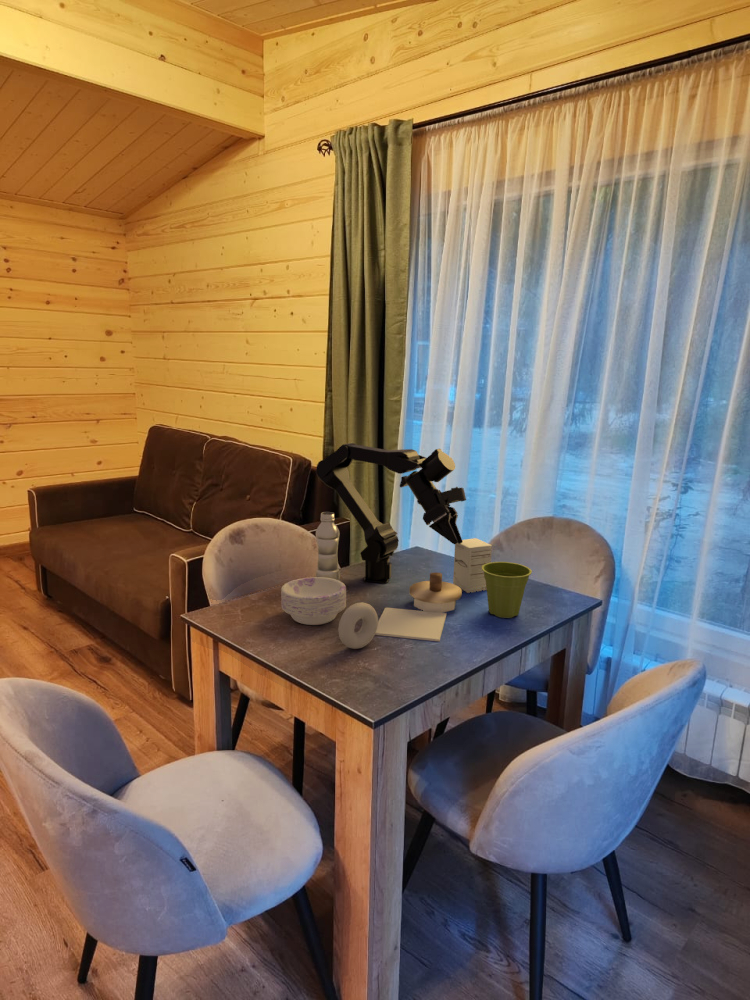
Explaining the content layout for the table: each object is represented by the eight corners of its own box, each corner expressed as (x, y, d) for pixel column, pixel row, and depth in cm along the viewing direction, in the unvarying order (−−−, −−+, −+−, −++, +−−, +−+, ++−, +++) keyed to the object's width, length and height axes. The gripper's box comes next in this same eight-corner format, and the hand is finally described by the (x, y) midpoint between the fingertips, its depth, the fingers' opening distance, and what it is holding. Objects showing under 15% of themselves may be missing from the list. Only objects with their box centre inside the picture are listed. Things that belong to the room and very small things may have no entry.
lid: (405, 600, 154) (405, 580, 153) (413, 582, 166) (414, 564, 165) (459, 605, 151) (460, 585, 150) (463, 586, 164) (464, 568, 163)
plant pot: (538, 619, 151) (541, 574, 149) (492, 624, 148) (495, 578, 146) (513, 601, 162) (516, 559, 160) (471, 606, 159) (473, 563, 157)
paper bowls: (307, 601, 161) (307, 571, 159) (358, 613, 153) (358, 582, 152) (268, 621, 148) (267, 589, 146) (321, 636, 141) (321, 602, 139)
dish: (412, 613, 156) (412, 598, 155) (418, 598, 166) (418, 584, 165) (452, 617, 154) (453, 602, 153) (456, 602, 164) (457, 588, 163)
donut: (370, 638, 140) (371, 595, 138) (381, 643, 137) (381, 600, 135) (334, 651, 134) (334, 606, 131) (345, 657, 131) (345, 611, 129)
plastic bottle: (341, 581, 175) (341, 510, 171) (337, 590, 169) (337, 517, 164) (318, 580, 176) (317, 510, 172) (313, 588, 169) (313, 516, 165)
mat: (372, 634, 142) (372, 632, 142) (385, 609, 156) (385, 607, 156) (439, 641, 139) (439, 639, 139) (446, 615, 153) (446, 613, 153)
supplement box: (452, 584, 174) (454, 540, 171) (474, 581, 177) (477, 537, 174) (466, 593, 168) (469, 547, 165) (490, 589, 171) (492, 544, 168)
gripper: (446, 471, 153) (481, 525, 150) (456, 477, 171) (488, 526, 168) (408, 496, 155) (442, 550, 152) (422, 500, 173) (453, 549, 170)
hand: (458, 543), depth 161 cm, fingers open, 9 cm apart
